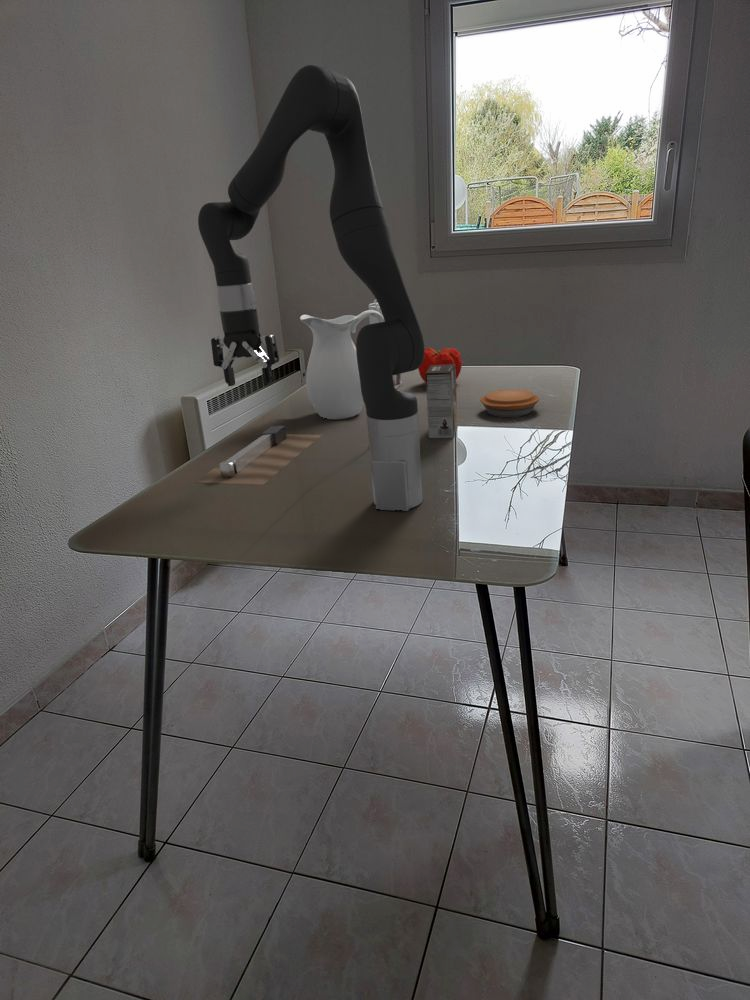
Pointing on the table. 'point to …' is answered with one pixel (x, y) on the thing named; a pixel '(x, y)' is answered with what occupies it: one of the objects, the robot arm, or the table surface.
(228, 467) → the arm
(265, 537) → the table surface
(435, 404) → the coffee box
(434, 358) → the tomato
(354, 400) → the pitcher
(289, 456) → the board
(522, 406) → the pie
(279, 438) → the arm
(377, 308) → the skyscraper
